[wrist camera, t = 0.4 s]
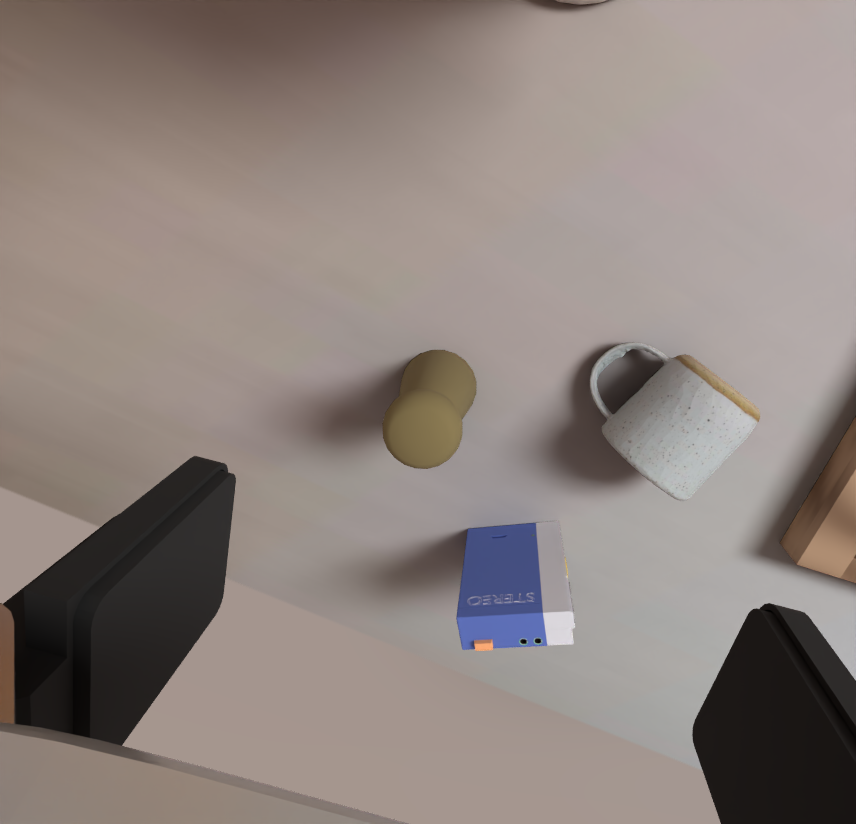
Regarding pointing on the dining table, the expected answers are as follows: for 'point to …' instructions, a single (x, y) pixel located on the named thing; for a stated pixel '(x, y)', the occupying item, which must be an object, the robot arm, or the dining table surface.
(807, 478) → the dining table surface
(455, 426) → the cork
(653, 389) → the ceramic mug
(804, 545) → the button deck
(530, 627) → the walkman
